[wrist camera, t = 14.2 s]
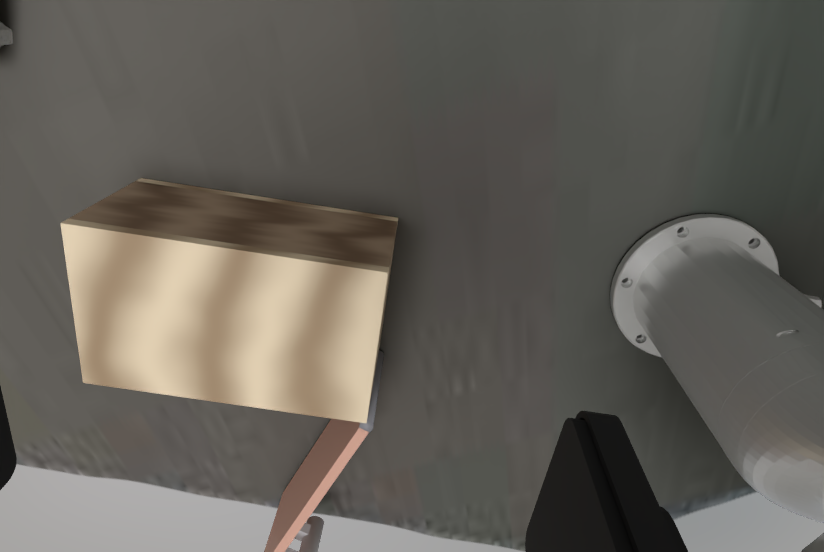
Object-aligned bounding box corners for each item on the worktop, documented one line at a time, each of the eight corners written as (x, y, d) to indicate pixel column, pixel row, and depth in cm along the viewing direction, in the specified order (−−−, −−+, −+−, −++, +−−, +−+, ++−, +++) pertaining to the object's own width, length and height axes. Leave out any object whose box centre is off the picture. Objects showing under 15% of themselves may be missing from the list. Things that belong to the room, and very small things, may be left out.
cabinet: (398, 217, 43) (388, 272, 34) (379, 346, 48) (366, 423, 39) (141, 178, 42) (60, 222, 33) (150, 312, 47) (83, 382, 38)
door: (375, 348, 47) (352, 477, 34) (418, 369, 48) (412, 503, 35) (282, 492, 55) (234, 641, 42) (320, 508, 56) (284, 659, 43)
